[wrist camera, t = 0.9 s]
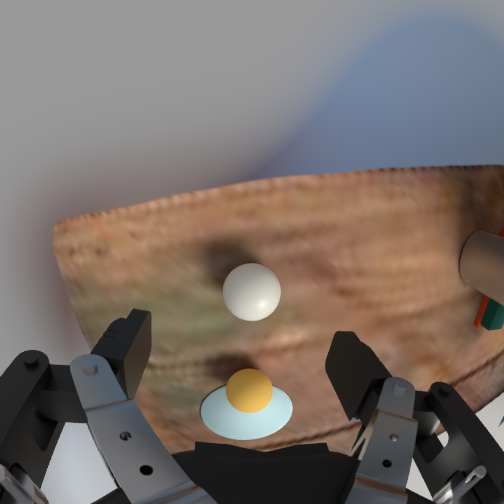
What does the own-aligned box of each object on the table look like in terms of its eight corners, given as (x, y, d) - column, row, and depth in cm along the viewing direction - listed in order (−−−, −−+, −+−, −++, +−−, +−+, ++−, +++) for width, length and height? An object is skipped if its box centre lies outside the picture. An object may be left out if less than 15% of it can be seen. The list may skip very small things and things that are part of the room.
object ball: (264, 355, 35) (270, 384, 29) (273, 386, 37) (280, 415, 31) (219, 365, 35) (219, 395, 29) (232, 395, 36) (233, 425, 31)
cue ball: (269, 250, 31) (278, 267, 26) (280, 298, 33) (290, 322, 27) (216, 263, 31) (214, 283, 25) (231, 310, 33) (231, 337, 27)
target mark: (283, 371, 36) (284, 372, 36) (297, 428, 40) (298, 429, 40) (187, 391, 36) (187, 392, 36) (217, 444, 40) (217, 444, 39)
